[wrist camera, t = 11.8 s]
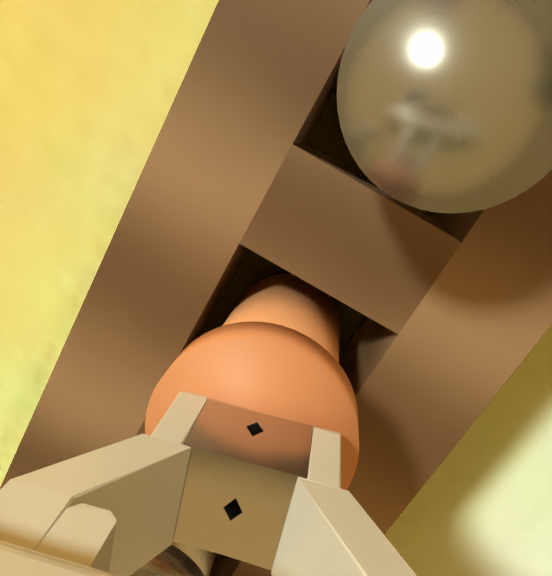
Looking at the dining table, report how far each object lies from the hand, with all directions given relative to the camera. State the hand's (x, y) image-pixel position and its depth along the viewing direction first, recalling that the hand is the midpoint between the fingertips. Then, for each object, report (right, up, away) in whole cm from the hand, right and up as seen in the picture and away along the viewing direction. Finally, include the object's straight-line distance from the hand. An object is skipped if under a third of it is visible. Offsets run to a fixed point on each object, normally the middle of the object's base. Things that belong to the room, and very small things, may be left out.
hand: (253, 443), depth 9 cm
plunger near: (+4, +8, +5) cm, 10 cm away
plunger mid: (+1, +2, +6) cm, 7 cm away
